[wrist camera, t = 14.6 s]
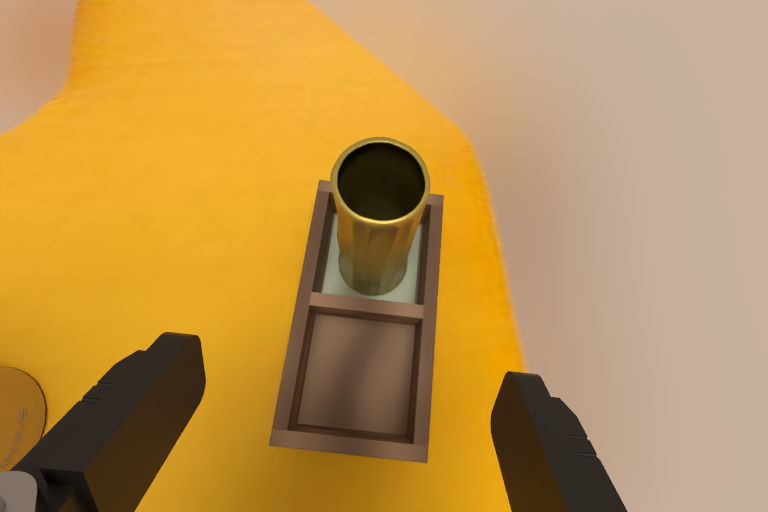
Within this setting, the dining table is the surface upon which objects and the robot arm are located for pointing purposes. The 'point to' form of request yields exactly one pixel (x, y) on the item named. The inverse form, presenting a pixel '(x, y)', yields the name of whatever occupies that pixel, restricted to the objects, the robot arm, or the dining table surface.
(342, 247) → the vase
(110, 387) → the robot arm
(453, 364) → the dining table surface
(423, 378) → the wooden compartment tray
